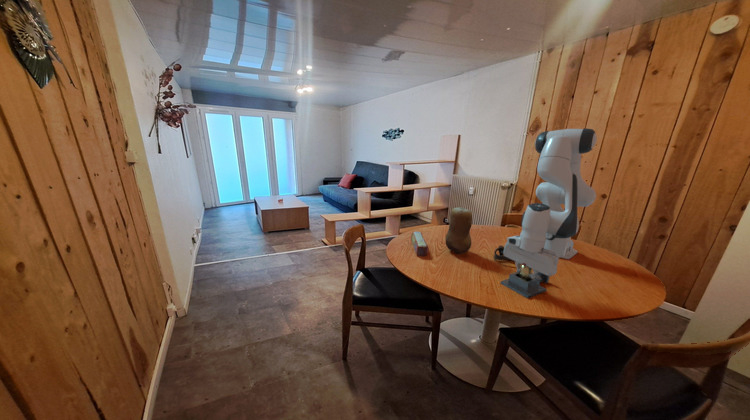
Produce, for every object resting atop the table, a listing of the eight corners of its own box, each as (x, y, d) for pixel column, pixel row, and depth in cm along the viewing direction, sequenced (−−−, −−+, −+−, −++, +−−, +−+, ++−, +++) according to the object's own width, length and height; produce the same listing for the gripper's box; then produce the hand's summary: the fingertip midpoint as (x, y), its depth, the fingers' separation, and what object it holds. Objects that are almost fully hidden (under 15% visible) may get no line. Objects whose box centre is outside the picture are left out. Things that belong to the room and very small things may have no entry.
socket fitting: (528, 273, 114) (530, 264, 113) (556, 287, 104) (558, 276, 102) (500, 283, 106) (502, 272, 104) (527, 298, 95) (530, 287, 94)
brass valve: (522, 277, 105) (525, 259, 103) (531, 282, 101) (535, 263, 99) (515, 279, 103) (518, 261, 101) (524, 284, 99) (528, 266, 97)
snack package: (428, 257, 129) (429, 245, 128) (415, 256, 130) (416, 244, 128) (421, 241, 150) (422, 231, 148) (410, 241, 150) (411, 230, 148)
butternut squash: (472, 250, 138) (478, 207, 131) (466, 259, 127) (473, 213, 120) (447, 245, 145) (452, 204, 138) (440, 253, 134) (445, 209, 127)
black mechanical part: (518, 265, 123) (515, 254, 119) (499, 271, 125) (495, 260, 122) (508, 250, 133) (505, 239, 130) (491, 255, 136) (487, 245, 132)
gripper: (564, 252, 90) (556, 286, 94) (513, 234, 108) (508, 263, 112) (554, 256, 88) (546, 289, 91) (503, 236, 105) (498, 265, 109)
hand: (525, 275), depth 102 cm, fingers closed on brass valve, 4 cm apart
